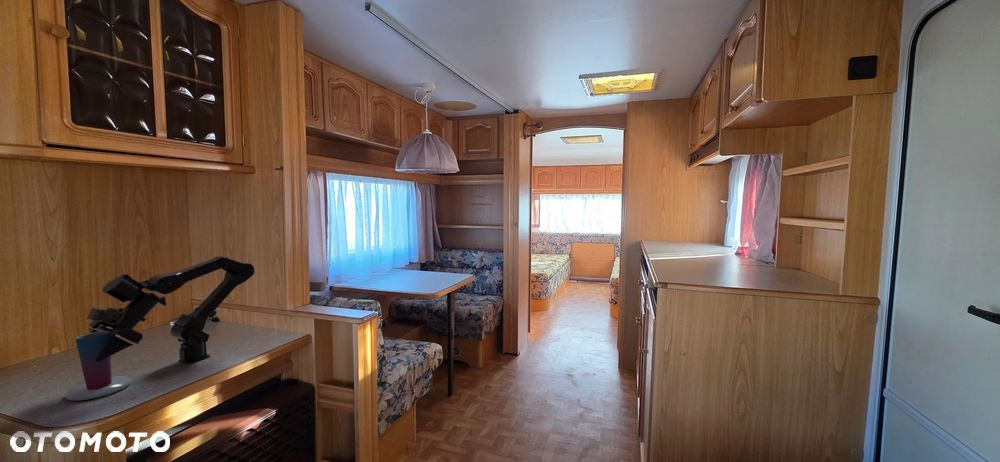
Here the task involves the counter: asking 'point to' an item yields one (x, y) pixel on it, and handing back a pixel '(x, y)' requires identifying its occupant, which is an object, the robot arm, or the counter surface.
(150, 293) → the robot arm
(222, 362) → the counter surface
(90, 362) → the cup
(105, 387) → the saucer
